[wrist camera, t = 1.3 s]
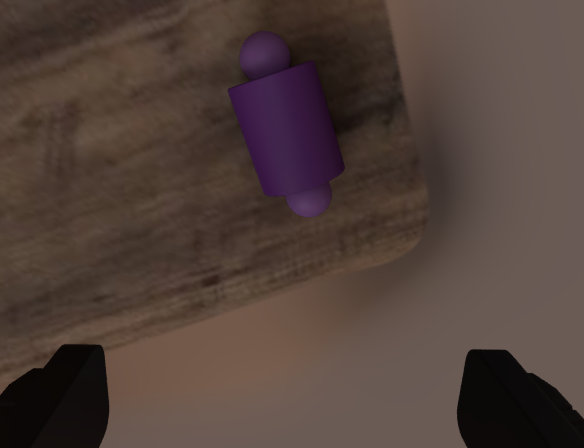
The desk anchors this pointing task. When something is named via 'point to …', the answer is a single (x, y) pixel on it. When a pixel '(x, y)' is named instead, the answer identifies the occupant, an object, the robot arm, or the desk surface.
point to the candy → (286, 125)
